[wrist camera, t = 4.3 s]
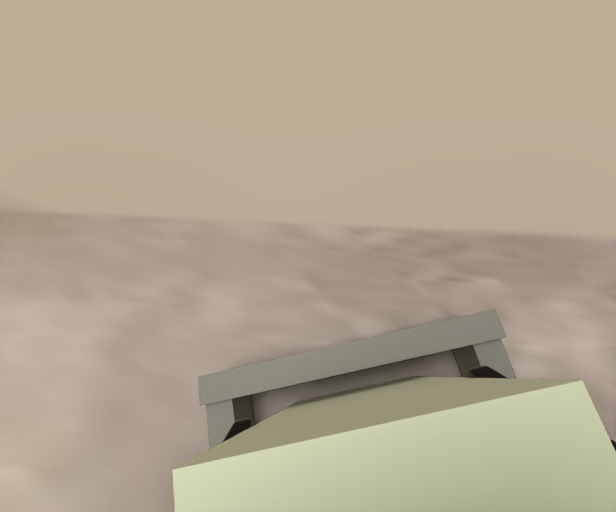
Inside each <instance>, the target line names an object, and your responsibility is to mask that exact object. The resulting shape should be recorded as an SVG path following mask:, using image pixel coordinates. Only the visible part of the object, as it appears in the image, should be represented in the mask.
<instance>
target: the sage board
mask: <svg viewBox="0 0 616 512" xmlns="http://www.w3.org/2000/svg"><path fill="white" fill-rule="evenodd" d="M173 488H174V506H175V512H616V451H615V449H614V447H613V445H612V443H611V440H610V438H609V436H608V434H607V432H606V430H605V428H604V426H603V423H602V421H601V419H600V417H599V415H598V413H597V411H596V409H595V407H594V404H593V402H592V400H591V398H590V396H589V394H588V392H587V390H586V387H585V385H584V383H583V381H582V380H551V379H508V378H465V377H422V376H411V377H406V378H402V379H397V380H393V381H388V382H384V383H379V384H375V385H370V386H366V387H361V388H357V389H353V390H348V391H344V392H339V393H335V394H330V395H326V396H321V397H317V398H312V399H308V400H303V401H299V402H296V403H294V404H293V405H291V406H289V407H287V408H285V409H283V410H282V411H280V412H278V413H276V414H274V415H272V416H271V417H269V418H267V419H265V420H263V421H261V422H259V423H258V424H256V425H254V426H253V427H251V428H248V429H247V430H245V431H243V432H241V433H239V434H237V435H235V436H234V437H232V438H230V439H228V440H226V441H224V442H223V443H221V444H219V445H217V446H215V447H213V448H212V449H210V450H208V451H206V452H204V453H202V454H200V455H199V456H197V457H195V458H193V459H191V460H189V461H188V462H186V463H184V464H182V465H180V466H178V467H177V468H175V469H173Z"/></svg>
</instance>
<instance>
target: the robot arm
mask: <svg viewBox="0 0 616 512" xmlns="http://www.w3.org/2000/svg"><path fill="white" fill-rule="evenodd" d="M467 377H468V378H507V377H506V376H504V375H502V374H501V373H499V372H497V371H496V370H494V369H492V368H491V367H489V366H479V367H474V368H470V369H469V370H468V373H467ZM508 379H509V378H508ZM254 425H256V423H255V421H254V420H253V419H252V418H246V419H241V420H237V421H235V422H234V423H233V425H232V427H231V428H230V430H229V432H228V433H227V435H226V437H225V438H224V440H223V442H224V441H226V440H228V439H230V438H232V437H234V436H235V435H237V434H239V433H241V432H243V431H245V430H247V429H248V428H251V427H253V426H254ZM610 440H611V439H610ZM223 442H222V443H223ZM611 443H612V445H613V447H614V449H615V451H616V442H614V441H613V440H611Z"/></svg>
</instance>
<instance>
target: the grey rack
mask: <svg viewBox="0 0 616 512" xmlns="http://www.w3.org/2000/svg"><path fill="white" fill-rule="evenodd" d="M504 337H506V334H505V332H504V329H503V327H502V325H501V322H500V320H499V317H498V315H497V313H496V310H495V309H492V310H488V311H484V312H479V313H475V314H470V315H466V316H462V317H457V318H453V319H448V320H444V321H440V322H435V323H431V324H426V325H422V326H418V327H413V328H409V329H404V330H400V331H396V332H391V333H387V334H382V335H378V336H374V337H369V338H365V339H361V340H356V341H352V342H347V343H343V344H339V345H334V346H330V347H325V348H321V349H317V350H312V351H308V352H303V353H299V354H295V355H290V356H286V357H281V358H277V359H273V360H268V361H264V362H259V363H255V364H251V365H246V366H242V367H237V368H233V369H229V370H224V371H220V372H215V373H211V374H207V375H202V376H198V385H199V396H200V406H201V405H206V411H207V422H208V433H209V444H210V449H212V448H213V447H215V446H217V445H219V444H221V443H222V442H223V440H224V438H225V437H226V435H227V433H228V432H229V430H230V428H231V427H232V425H233V423H234V422H235V421H237V420H241V419H246V418H252V419H253V420H254V418H253V411H252V403H251V396H250V395H252V394H256V393H261V392H265V391H270V390H274V389H279V388H283V387H287V386H292V385H296V384H301V383H305V382H310V381H314V380H319V379H323V378H328V377H332V376H336V375H341V374H345V373H350V372H354V371H359V370H363V369H368V368H372V367H377V366H381V365H385V364H390V363H394V362H399V361H403V360H408V359H412V358H417V357H421V356H426V355H430V354H434V353H439V352H443V351H448V350H453V353H454V356H455V358H456V361H457V364H458V367H459V370H460V373H461V375H462V377H465V378H468V377H467V373H468V370H469V369H470V368H474V367H479V366H489V367H491V368H492V369H494V370H496V371H497V372H499V373H501V374H502V375H504V376H506V377H507V378H509V379H517V378H516V376H515V373H514V371H513V368H512V366H511V363H510V361H509V358H508V356H507V354H506V351H505V349H504V346H503V344H502V341H501V339H500V338H504Z"/></svg>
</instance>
